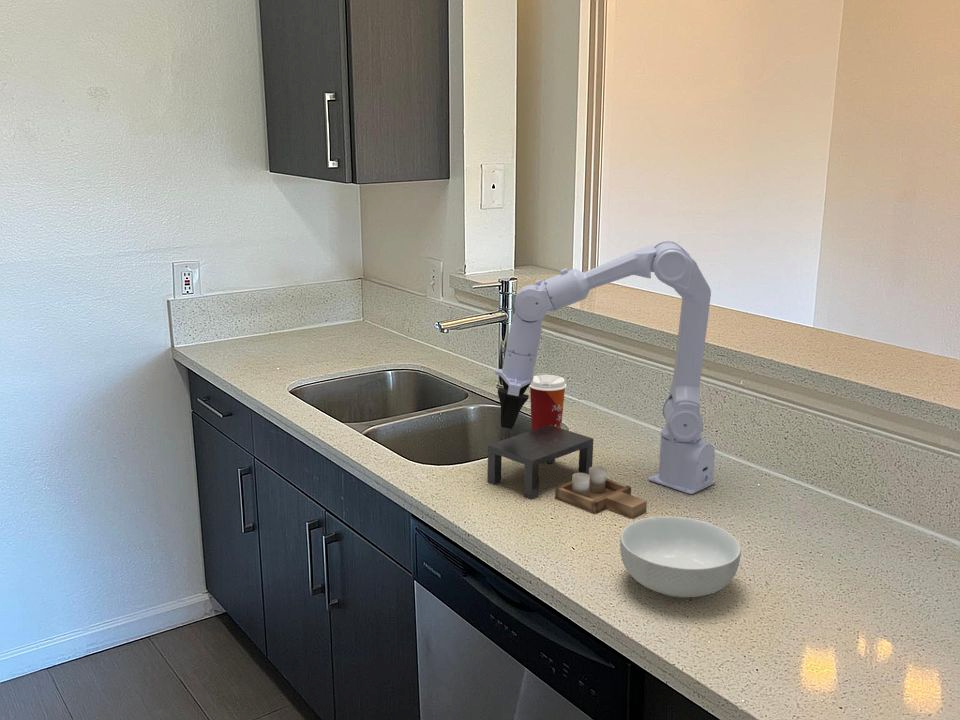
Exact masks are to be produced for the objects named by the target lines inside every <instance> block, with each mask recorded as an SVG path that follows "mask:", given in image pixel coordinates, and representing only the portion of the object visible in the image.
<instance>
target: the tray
mask: <svg viewBox="0 0 960 720" xmlns="http://www.w3.org/2000/svg"><path fill="white" fill-rule="evenodd" d="M571 476H572V477H571V478H572V480H570V481H568V482H566V483H563V484H561V485H559V486H556V487H555V488H554V489H555V490H554V493H555V494H554V498H555V499H556V500H559V501H562V502H564V503H567V504H569V505H572V506H574V507H577V508H579V509H581V510H584V511H587V512H589V513H591V514H595V515H596V514H598V513H600V512H603V511H605V510H607V511H611V512H614V513H616V514H619V515H621V516H624V517H627V518H630V519H635V518H637V517H638V516H640V515H643V514H644V513H647V504H648V501H647V500H645V499H642V498H640V497H638V496H634V495H632V487H631V486H630V485H627V484H623V483H621V482H617V481H615V480H612V479H610V478H607V468H605V467H603V466H599V465H594V466H593V465H592V467H590V468H589V474H586V473H579V472H574V473H573V474H572V475H571Z"/></svg>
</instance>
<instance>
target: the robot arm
mask: <svg viewBox="0 0 960 720" xmlns="http://www.w3.org/2000/svg"><path fill="white" fill-rule="evenodd" d="M651 273H654V276H655V278H657V280H659V282H661V283H663V284H665V285H667V286H669V287H671V288H673V289H674V291H675V292H676V293H677V294H678V295H679V296H680V297H681V308H680V315H679V323H678V331H677V332H678V333H677V341H676V350H675V351H676V352H675V358H674V368H673V375H672V378H673V379H672V381H671V384H670V387H669V393H668V394H669V395H668V396H667V399H666V400H665V401H664V403H663V405H662V410H661V411H662V416H663V418H664V419H665V422H666V424H665V426H664V427H663V428H662V429H661V431H660V443H659V444H660V445H659V447H660V448H659V461H658V473H656V474H654V475H651V476H649V477H648V481H650V482H653V483H655V484H659V485H661V486H662V485H663V486H664V487H668V488H671V489H674V490H676V491H679V492H682V493H686V494H688V495H693V494H696V493H697V492H700V491H702V490H704V489H706V488H708V487H710V486H712V485H714V484H715V483H716V480H714V468H715V456H716V452H715V448H714V445H713V444H712V443H710V442H707V441H706V440H704V439H703V438H702V431H703V427H704V421H703V418H702V415H701V411H700V408H701V395H700V394H701V393H700V391H701V390H700V386H701V378H702V377H701V376H702V371H703V369H702V368H703V361H704V353H705V344H706V337H707V330H708V329H707V328H708V321H709V312H710V305H711V297H712V290H711V288H710V286H709V283H708V281H707V280H706V278H705V276H704V275H703V273H702V271H701V269H700V268H699V266H698V263H697V262H696V261H695V259H694V258H693V257H692V256H691V255H690V253H688V251H687V250H685V249H684V248H683V247H682V246H681V245H679V244H678V243H677V242H674V241H671V240H665V241H664V240H663V241H662V242H661V241H660V242H658V243H657V244H655V245H653V244H651V245H646V246H644V247H640V248H638V249H636V250H633V251H630V252H628V253H626V254H624V255H621V256H619V257H617V258H614V259H612V260H610V261H608V262H605V263H603V264H601V265H598V266H596V267H594V268H591V269H589V270H587V271H581V270H578V269H576V268H573V269H570V270H569V269H568V267H565V268H563V269H561V270H560V273H559V274H557V275H555V276H554V275H553V276H552V277H549V278H547V279H545V280H542V279H540V278H539V279H538V280H535V285H533V284H527V285H525V286H523V287H521V288H520V289H519V290H518V292H517V293H516V296H515V300H514V304H513V305H514V313H513V315H512V320H511V321H512V323H511V324H510V326H509V332H508V337H507V343H506V348H505V353H504V357H503V358H504V359H503V363H502V368H496V369H495V371H494V374H495V375H496V376H500V379H501V381H502V385H503V386H502V387H498V388H497V396H498V400H499V405H500V427H501V428H504V429H510V430H512V429H513V428H514V427H515V425H516V422H517V419H518V416H519V414H520V412H521V410H522V408H523V406H524V405H525V404H526V403H527V401H528V399H529V397H530V394H525V392H526V391H527V389H529V388H530V387H529V385H530V384H531V382H533V378H534V372H535V366H536V362H537V356H538V352H539V351H538V350H539V346H540V341H541V337H542V331H543V330H542V323H543V319H544V317H545V316H546V314H547V312H549V311H550V312H555V311H559V310H560V309H563V308H565V307H568V306H571V305H573V304H576V303H578V302H581V301H584V300H586V299H587V297H588V295H589V292H590V291H591V290H593V289H595V288H598V287H601V286H604V285H607V284H611V283H613V282H615V281H619V280H622V279H624V278H625V279H626V278H627V277H631V276H637V277H642V278H646V279H651V278H652V274H651Z"/></svg>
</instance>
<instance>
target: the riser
mask: <svg viewBox="0 0 960 720" xmlns="http://www.w3.org/2000/svg"><path fill="white" fill-rule="evenodd" d="M574 452H578V473H586V474H589V468H590V467H593V463H594V462H593V460H594V457H593V455H594V438H593V437H590V436H586V435H583V434H580V433H577V432H573V431H571V430H568V429H564V428H562V427H561V428H558V427H555V426H552V425H546V426H543V427H540V428H537V429H534V430H532V429H531V430H529V431H526V432H523V433H519V434H517V435H516V434H515V435H513V436H511V437H508V438H504V439H501V440H499V441H496V442H493V443H490V444H487V483H490V484H492V485H497V484H500V483H502V464H503V462H502V460H503V459H502V458H506V459H508V460H511V461H514V462H516V463H519V464H522V465H524V477H523V478H524V480H523V481H524V482H523V483H524V487H523V488H524V489H523V497H524V498H526V499H527V498H528V499H529V500H533V499H536V498H538V497H539V490H540V489H539V488H540V486H539V484H540V465H542V464H548V465H550V464H553V463H555V462H556V459H558V458H561V457H564V456H567V455H569V454H572V453H574Z"/></svg>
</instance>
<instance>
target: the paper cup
mask: <svg viewBox="0 0 960 720" xmlns="http://www.w3.org/2000/svg"><path fill="white" fill-rule="evenodd" d="M533 377H534V378H533V382H531V384H530V385H529V387H528V388H529V392H530V393H529V397H530V416H531V417H530V419H531V426H530V427H531V430H534V429H537V428H540V427H543V426H546V425H552V426H555V427H558V428H562V424H563V414H564V413H563V411H564V402H565V390H566V388H567V383H566V381H565V380H566V379H565V378H564V377H562V376H558V375H555V374H554V375H553V374H537V375H533Z"/></svg>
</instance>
